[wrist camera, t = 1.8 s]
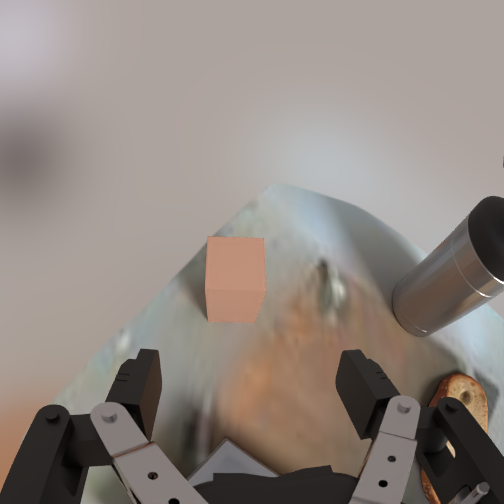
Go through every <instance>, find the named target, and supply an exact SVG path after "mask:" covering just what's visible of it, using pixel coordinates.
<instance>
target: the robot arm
mask: <svg viewBox="0 0 504 504" xmlns="http://www.w3.org/2000/svg"><path fill="white" fill-rule="evenodd" d="M503 165H504V164H503ZM503 291H504V198H501V197H496V196H490V197H487V198H484V199H483V200H482V201H481V202H480V203H478V205H477V206H476V207H475V208H474V209H473V210H472V211H471V213H470V214H469V215H468V216H467V217H466V218H465V219H464V220H463V221H462V222H461V223H460V224H459V225H458V226H457V227H456V228H455V230H454V231H453V232H452V233H451V234H450V235H449V236H448V237H447V238H446V239H445V240H444V241H443V242H442V243H441V244H440V245H439V246H438V247H437V248H436V249H435V250H434V251H433V252H432V253H430V254H429V255H428V256H427V257H426V258H425V259H424V260H423V261H422V262H421V263H420V264H419V265H418V266H417V267H416V268H414V269H413V270H412V271H411V272H410V273H409V274H408V275H407V276H406V277H405V278H403V279H402V280H401V281H400V282H399V283H398V284H397V286H396V288H395V290H394V293H393V300H392V303H393V309H394V313H395V316H396V318H397V320H398V321H399V323H400V324H401V325H402V327H403V328H404V329H405V330H406V331H408V332H409V333H411V334H413V335H416V336H428V335H430V334H432V333H434V332H436V331H438V330H440V329H442V328H444V327H445V326H447V325H449V324H451V323H453V322H455V321H456V320H458V319H460V318H462V317H463V316H465V315H467V314H468V313H470V312H472V311H473V310H475V309H477V308H478V307H480V306H482V305H483V304H485V303H486V302H488V301H489V300H491V299H493V298H494V297H496V296H497V295H499V294H500V293H502V292H503ZM336 389H337V392H338V394H339V396H340V398H341V400H342V402H343V404H344V406H345V408H346V410H347V412H348V414H349V417H350V419H351V421H352V423H353V425H354V427H355V429H356V431H357V433H358V435H359V437H360V439H361V440H363V439H368V438H371V440H372V442H371V444H370V447H369V449H368V451H367V454H366V456H365V458H364V461H363V463H362V465H361V467H360V470H359V472H358V474H357V476H356V477H353V476H350V475H347V474H342V473H334V472H333V471H332V469H331V466H330V465H327V466H321V467H313V468H305V469H301V470H298V471H295V472H291V473H288V474H285V475H281V476H278V477H267V476H260V475H253V474H247V473H213V480H212V481H207V482H204V483H200V484H197V485H195V486H193V487H192V486H191V485H190V484H189V482H188V481H187V480H186V479H185V478H184V477H183V476H182V475H181V473H180V472H179V471H178V470H177V469H176V468H175V466H174V465H173V464H172V463H171V462H170V460H169V459H168V458H167V457H166V456H165V454H164V453H163V452H162V451H161V449H160V448H159V447H158V446H157V444H156V443H154V442H153V441H152V442H150V440H151V436H152V431H153V426H154V422H155V417H156V413H157V408H158V404H159V399H160V395H161V390H162V376H161V368H160V359H159V352H158V350H152V349H140V351H139V354H138V356H137V358H136V359H128V360H127V361H126V362H124V363H123V364H122V365H121V367H120V369H119V371H118V374H117V375H116V378H115V381H114V382H113V384H112V387H111V389H110V391H109V394H108V396H107V398H106V401H105V403H101V404H99V405H97V406H95V407H94V408H93V409H92V411H91V413H90V414H83V415H70V414H69V412H68V410H67V409H66V408H65V407H63V406H61V405H47V406H45V407H43V408H41V409H40V410H39V411H38V412H37V414H36V416H35V418H34V420H33V422H32V424H31V426H30V428H29V430H28V432H27V434H26V436H25V438H24V440H23V442H22V444H21V446H20V449H19V451H18V453H17V455H16V457H15V459H14V462H13V464H12V466H11V468H10V471H9V473H8V476H7V478H6V480H5V483H4V485H3V488H2V490H1V493H0V504H80V503H81V498H82V494H83V490H84V485H85V481H86V477H87V473H88V469H89V466H105V465H110V466H111V468H112V470H113V471H114V473H115V475H116V476H117V478H118V480H119V481H120V483H121V484H122V486H123V488H124V489H125V491H126V492H127V494H128V495H129V497H130V498H131V500H132V502H133V503H134V504H405V503H403V502H401V500H402V497H403V494H404V491H405V488H406V484H407V481H408V477H409V474H410V470H411V466H412V462H413V458H414V454H416V456H417V458H418V460H419V462H420V464H421V466H422V468H423V470H424V472H425V474H426V475H427V477H428V479H429V481H430V483H431V485H432V487H433V489H434V491H435V493H436V495H437V497H438V499H439V501H440V503H441V504H504V457H503V455H502V454H501V453H500V451H499V450H498V448H497V447H496V446H495V444H494V443H493V442H492V440H491V439H490V438H489V436H488V435H487V434H486V432H485V431H484V430H483V428H482V427H481V426H480V424H479V423H478V422H477V421H476V419H475V418H474V417H473V415H472V414H471V413H470V412H469V410H468V409H467V408H466V407H465V405H464V404H463V403H462V402H461V401H460V400H458V399H456V398H453V397H443V398H441V399H439V401H438V402H437V404H436V406H435V407H423V406H420V405H419V403H418V402H417V401H416V400H415V399H413V398H411V397H408V396H403V395H400V393H399V392H398V390H397V389H396V388H395V386H394V385H393V384H392V382H391V381H390V379H389V378H388V377H387V375H386V374H385V373H384V371H383V370H382V368H381V367H380V366H379V364H377V363H376V362H374V361H373V360H371V359H367V358H366V357H365V355H364V354H363V353H362V351H361V350H360V349H357V350H344V351H343V352H342V354H341V358H340V363H339V367H338V371H337V375H336ZM448 441H449V442H450V444H451V445H452V447H453V449H454V451H455V457H454V456H453V455H452V453H451V451H450V450H449V448H448V447H447V445H446V444H447V442H448Z"/></svg>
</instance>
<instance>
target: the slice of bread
mask: <svg viewBox="0 0 504 504" xmlns="http://www.w3.org/2000/svg"><path fill="white" fill-rule="evenodd" d="M443 397H453V398H456V399H458V400H460V401H461V402H462V403H463V404H464V405H465V407H466V408H467V409H468V410H469V412H470V413H471V414H472V415H473V417H474V418H475V419H476V421H477V422H478V423H479V424H480V426H481V427H482V428H483V430H484V431H485V432H486V434H487V420H488V419H487V412H488V407H487V398H486V396H485V393H484V391H483V389H482V387H481V386H480V384H479V383H478V382H477V381H476V380H475V379H473V378H472V377H470V376H468V375H465V374H461V373H454V374H452V375H450V376H448V377H446V378H444V379H443V380H442V381H441V382H440V384H439V388H438V390H437V392H436V394H435V396H434V397H433V399H432V401H431V403H430V405H429V407H435V406H436V404H437V402H438V401H439V399H441V398H443ZM446 445H447V447H448V448H449V450H450V451H451V453H452V455H453V456H454V457H455V451H454V449H453V447H452V445H451V444H450V442H449V441H448V442H447V444H446ZM421 480H422V486H423V489H424V492H425V495H426V498H427V500H428V501H429V502H430V504H441V503H440V501H439V499H438V497H437V495H436V493H435V491H434V489H433V487H432V485H431V483H430V481H429V479H428V477H427V475H426V474H425V472H424V470H423V468H422V469H421Z"/></svg>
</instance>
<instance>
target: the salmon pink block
mask: <svg viewBox="0 0 504 504" xmlns="http://www.w3.org/2000/svg"><path fill="white" fill-rule="evenodd" d="M265 293H266V268H265V246H264V238H240V237H210V236H209V237H208V241H207V258H206V277H205V295H206V305H207V315H208V322H247V323H255V320H256V317H257V315H258V312H259V309H260V307H261V304H262V301H263V299H264V296H265Z"/></svg>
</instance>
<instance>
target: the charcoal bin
mask: <svg viewBox="0 0 504 504" xmlns="http://www.w3.org/2000/svg"><path fill="white" fill-rule="evenodd" d="M213 473H247V474H253V475H260V476H267V477H278V476H281V475H280V474H278V473H277V472H275V471H274V470H272V469H271V468H269V467H268V466H266V465H265V464H263V463H262V462H260V461H259V460H257V459H256V458H254V457H253V456H252V455H250V454H249V453H247V452H246V451H245V450H243V449H242V448H240V447H239V446H238V445H236V444H235V443H234V442H232V441H231V440H230V439H228V438H227V437H225V438H224V439H223V440H222V441H221V443H220V444H219V445H218V446H217V447H216V448H215V449H214V450H213V451H212V452H211V453H210V454H209V455H208V456H207V457H206V459H205V460H204V461H203V462H202V463H201V464H200V465H199V466H198V467H197V468H196V469H195V470H194V471H193V472H192V473H191V474H190V475H189V476H188V477H187V478H186V480H187V481H188V482H189V484H190V485H191V486H192V487H193V486H195V485H197V484H200V483H204V482H207V481H212V480H213Z"/></svg>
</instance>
